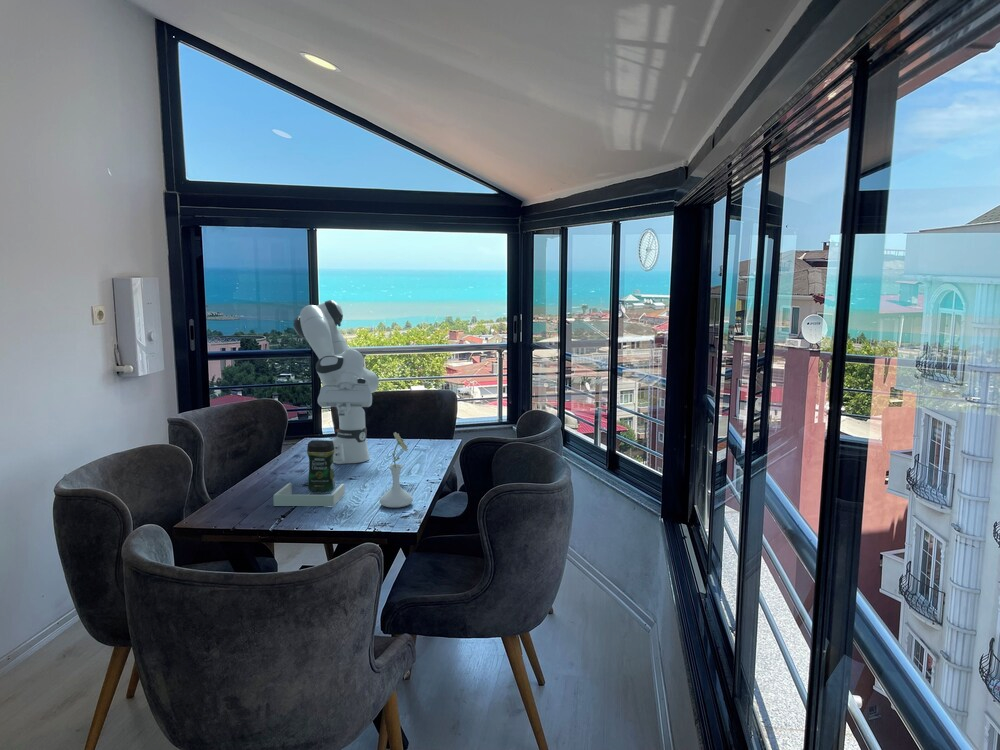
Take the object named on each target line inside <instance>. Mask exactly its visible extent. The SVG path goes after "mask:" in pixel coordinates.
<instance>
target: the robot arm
mask: <svg viewBox="0 0 1000 750" xmlns="http://www.w3.org/2000/svg"><path fill="white" fill-rule="evenodd" d="M342 309H343V308H342V307H341V306H340V304H339V303H338V302H336V301H335V300H333V299H329V300H326V301H324V302H322V303H320V304H318V305H314V304H309V305H306V306H304V307H303V308H302V309H301V310H300V313H299V315H298V316H297V317H296V318H294V320H293V328H294V331H295V332H296V334H297V335H298V336H299V337H300V338H301V339H305V340H306V341H307V343H308V344H309V346H310V347H311V349H312V350H313V352H314V353H315V355H316V356H317V358H318V360H317V362H316V363H315V370H316V373H317V374H318V377H319V379H320V381H321V383H322V386H321V387H320V390H319V394H318V396H317V404H318V405H319V406H320V407H321V408H327V407H328V408H336V409H337V415H338V421H339V426H338V427H339V428H337V429H336V430H335V433H336V436H335V437H334V438H333V439H332V440H331V441H333V444H334V449H335V451H334V454H333V464H337V465H342V464H359V463H364V462H366V461H367V462H368V461H369V460H371V459H370V457H371V456H370V453H369V448H368V447H369V446H368V440H367V434H368V433H367V431H368V429H367V427H366V411H365V409H364V408H369V407H371V406H372V404H373V394H372V393H375V392H376V391H377V390H378V389H379V385H380V380H379V377H378V375H377V374H376V373H375V372H374V371H372V370H369V369H367V368H366V367H365V366H364V365H365V360H364V355H363V354H362V353H361V352H360V351H358V350H356V349H354V348H353V349H352V348H350V347H349V345H348V343H347V341H346V339H345V337H344V335H343V333H342V332H341V331H340V329H338V327H341V326H342V321H343V319H344V318H343V317H344V314H343V310H342ZM337 326H338V327H337Z"/></svg>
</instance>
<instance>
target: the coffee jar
mask: <svg viewBox="0 0 1000 750" xmlns="http://www.w3.org/2000/svg"><path fill="white" fill-rule="evenodd" d="M334 451H335V449H334V444H333V441H332V440H327V439H325V440H324V439H323V440H322V439H320V440H319V439H317V440H315V439H312V440H310V441H309V442H308V443H307V448H306V454H307V456H308V460H309V461H308V462H309V464H308V478H307V479H308V480H307V489H308V490H309V491H310V492H318V491H319V492H320V491H321V492H329V491H333V490H334V489H335V488H336V477H335V470H334V463H333V454H334Z"/></svg>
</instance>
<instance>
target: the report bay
mask: <svg viewBox="0 0 1000 750" xmlns="http://www.w3.org/2000/svg"><path fill="white" fill-rule="evenodd" d="M345 490H346V489H345V483H341V484H340V485H339V486H338V487H337V488H336V489H335V490H334V491H333V492H331V494H301V493H300V494H296V493H295V494H294V493H293V494H292V483H291V482H289V483H288V482H287V484H285V485H284V486H283V487H281V488H280V489H279V490H278V491H277V492H276V493H274V494H273V495H272V496H273V507H274V506H324V507H323V508H328V507H327V506H334V505H335V504H336V503H337V502H338V503H339V502H340V500H341V499H343V497H344V496H345V495H346V494H345V493H346V492H345ZM344 494H345V495H344ZM343 495H344V496H343ZM342 496H343V497H342ZM338 503H337V504H338ZM337 504H336V505H337ZM336 505H335V506H336ZM335 506H334V507H335Z"/></svg>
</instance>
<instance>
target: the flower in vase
mask: <svg viewBox="0 0 1000 750" xmlns="http://www.w3.org/2000/svg"><path fill="white" fill-rule="evenodd" d="M393 436H394V438H395V440H396V442H397V443H396V445H395V447H394V451H393V452H392V453H391V454H392V456H393V461H392V462H393V463H394V464H390V465H388V469H389V470H390V473H391V476H392V485H391V488H390V489H389V490H388V491H387V492H385V493H384V494H383V495H382V496H381V497H380V499H379V504H380V505H382V506H384V507H387V508H392V509H395V508H403V507H406V506H409V505H411V504H412V503H413V502H414V498H413V497H412V495H411V494H410V493H409V492H407V491H406V490H404V489H403V488H402V487H401V485H400V476H401V475H400V474H401V471H402V469H403V467H404V465H403V464H397V463H396V462H397V461H399V460H400V457H399V456H398V457H397V458H396V457H395V453H396V450H397V447H398V445H399V446H400V448H402V449H403V450H404V452H407V451H408V450H409V449H408V445H407V444H406V443H405V442H404V439H403V438H401V436H400V433H397V432H396V431H395V432H393Z"/></svg>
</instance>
